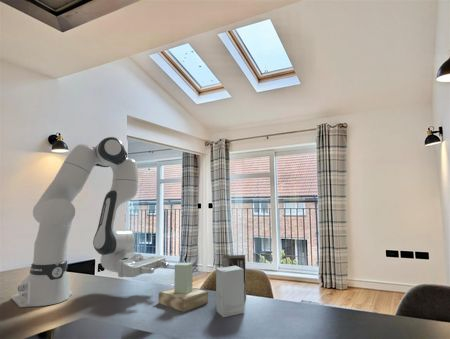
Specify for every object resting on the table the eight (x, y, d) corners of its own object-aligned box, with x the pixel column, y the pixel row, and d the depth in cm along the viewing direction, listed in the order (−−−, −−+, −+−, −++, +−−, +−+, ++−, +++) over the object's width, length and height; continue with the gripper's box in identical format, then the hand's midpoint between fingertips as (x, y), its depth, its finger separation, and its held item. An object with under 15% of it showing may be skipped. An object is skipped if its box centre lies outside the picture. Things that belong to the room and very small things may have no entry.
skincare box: (236, 308, 104) (236, 265, 106) (245, 314, 99) (244, 268, 100) (215, 312, 101) (215, 267, 102) (222, 318, 95) (222, 270, 97)
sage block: (174, 292, 108) (174, 264, 110) (180, 289, 113) (180, 262, 115) (186, 293, 107) (186, 265, 108) (192, 290, 112) (192, 263, 113)
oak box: (158, 304, 110) (158, 291, 110) (182, 296, 119) (182, 284, 119) (184, 313, 101) (184, 299, 101) (207, 303, 110) (208, 291, 110)
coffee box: (246, 296, 118) (245, 254, 120) (245, 301, 111) (245, 257, 113) (223, 295, 119) (223, 254, 121) (221, 300, 112) (221, 257, 114)
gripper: (150, 266, 132) (175, 269, 126) (115, 278, 113) (143, 283, 107) (150, 251, 132) (176, 254, 126) (115, 261, 114) (143, 265, 108)
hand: (160, 268), depth 117 cm, fingers open, 8 cm apart
